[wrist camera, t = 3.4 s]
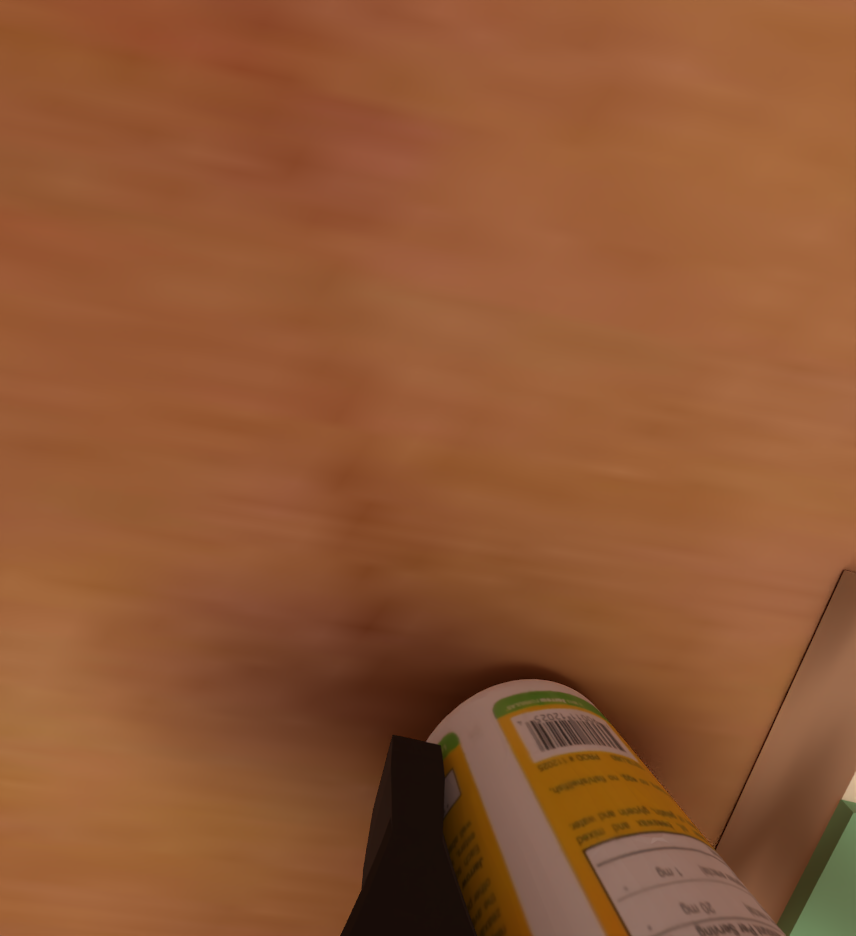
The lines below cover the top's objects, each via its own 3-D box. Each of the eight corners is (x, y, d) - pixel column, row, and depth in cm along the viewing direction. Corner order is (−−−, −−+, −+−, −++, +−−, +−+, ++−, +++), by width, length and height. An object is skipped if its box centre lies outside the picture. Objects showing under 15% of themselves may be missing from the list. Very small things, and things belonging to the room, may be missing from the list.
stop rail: (713, 1010, 13) (770, 1140, 11) (648, 996, 13) (691, 1123, 11) (923, 589, 11) (1055, 645, 8) (843, 569, 11) (953, 619, 8)
